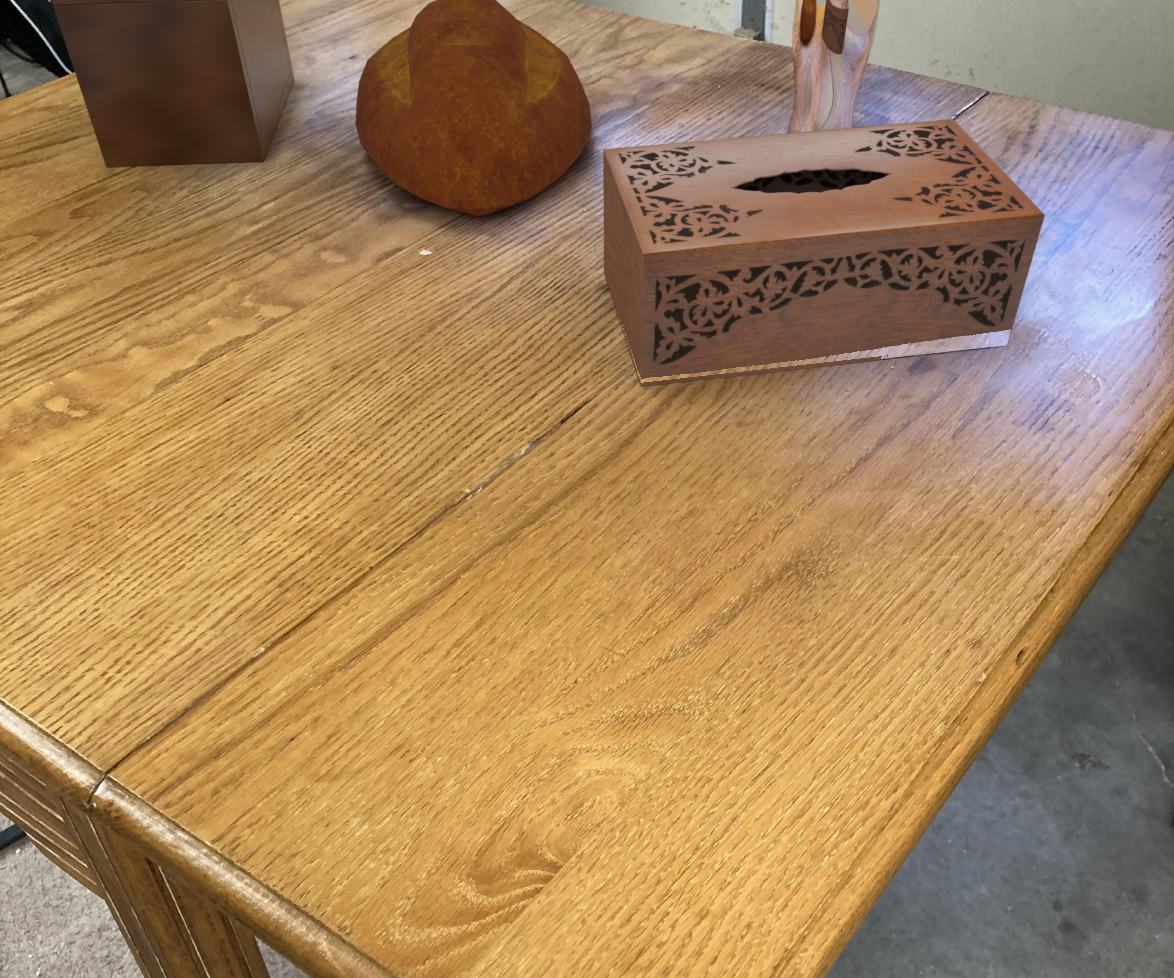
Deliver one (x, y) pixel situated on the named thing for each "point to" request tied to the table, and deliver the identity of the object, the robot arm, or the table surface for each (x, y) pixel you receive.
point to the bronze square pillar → (179, 77)
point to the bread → (471, 108)
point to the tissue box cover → (810, 246)
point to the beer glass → (829, 60)
